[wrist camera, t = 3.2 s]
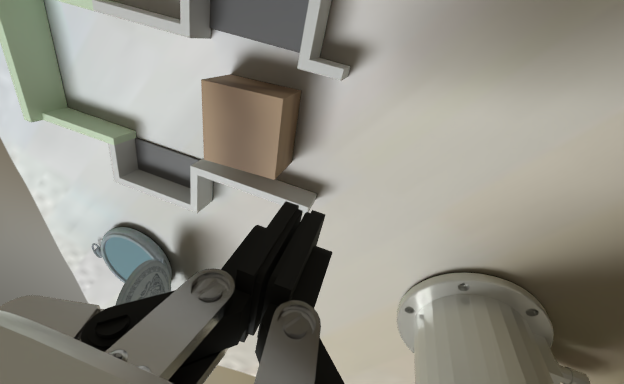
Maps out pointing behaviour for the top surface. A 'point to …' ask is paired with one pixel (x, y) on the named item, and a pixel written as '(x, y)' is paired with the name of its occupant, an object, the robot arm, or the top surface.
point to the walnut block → (249, 124)
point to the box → (122, 141)
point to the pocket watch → (135, 264)
